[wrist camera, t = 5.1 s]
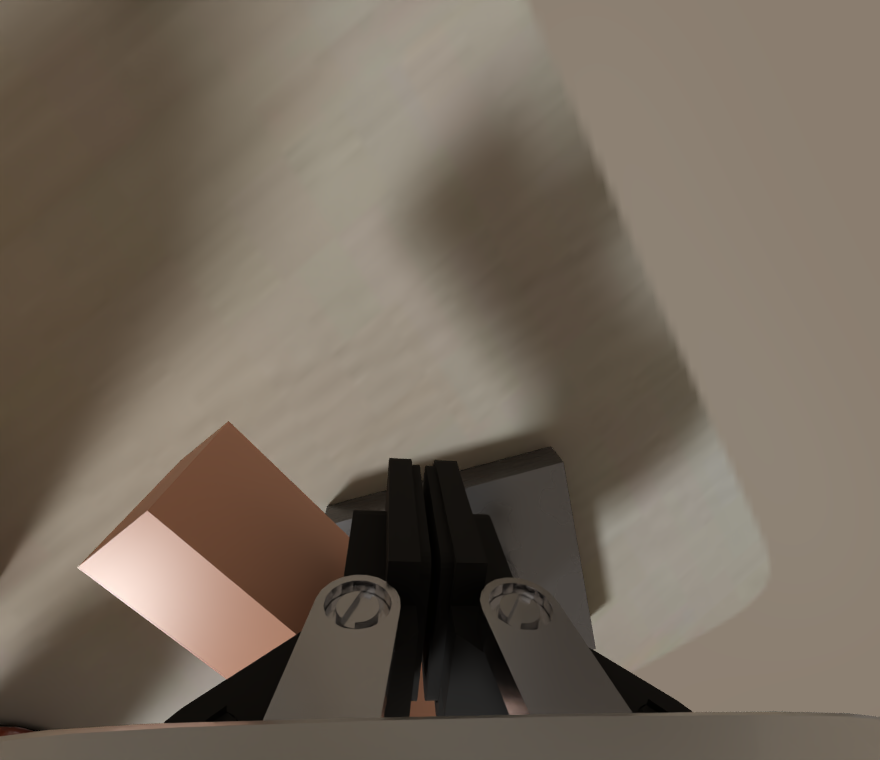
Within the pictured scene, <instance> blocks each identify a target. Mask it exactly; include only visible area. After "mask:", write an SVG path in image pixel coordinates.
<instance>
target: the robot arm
mask: <svg viewBox="0 0 880 760" xmlns="http://www.w3.org/2000/svg"><path fill="white" fill-rule="evenodd" d="M421 662H422V674H423V688H424V698H425V701H434V702H435V712H436V716H428V717H409V716H410V707H411V701H417V698H418V689H419V680H420V671H421ZM0 760H880V717H876V716H866V715H858V714H850V713H814V712H813V713H812V712H777V711H772V712H771V711H770V712H692V711H691V710H689V709H688V708H687V707H685V706H684V705H683V704H681V703H680V702H678V701H677V700H675V699H674V698H672V697H670V696H669V695H667V694H665V693H664V692H662V691H660V690H659V689H657V688H655V687H654V686H652V685H650V684H649V683H647V682H646V681H644V680H642V679H641V678H639V677H637V676H635V675H634V674H632V673H631V672H629V671H627V670H626V669H624V668H622V667H621V666H619V665H617V664H616V663H614V662H612V661H611V660H609V659H607V658H606V657H604V656H602V655H601V654H599V653H597V652H596V651H594V650H592V649H591V648H589V647H588V646H587V644H586V643H585V641H584V640H583V638H582V637H581V635H580V634H579V632H578V631H577V629H576V628H575V626H574V625H573V624H572V622H571V621H570V619H569V618H568V616H567V615H566V613H565V612H564V610H563V609H562V607H561V606H560V604H559V603H558V601H557V600H556V599H555V598H554V597H553V596H552V594H551V593H550V592H548V591H547V590H546V589H544V588H543V587H541V586H540V585H538V584H535V583H533V582H531V581H528V580H524V579H520V578H513V576H512V574H511V571H510V568H509V565H508V563H507V560H506V557H505V555H504V552H503V549H502V547H501V544H500V541H499V539H498V536H497V533H496V531H495V528H494V525H493V523H492V520H491V518H490V516H489V515H488V514H473V513H472V510H471V507H470V504H469V500H468V497H467V494H466V491H465V487H464V484H463V481H462V478H461V474H460V471H459V468H458V465H457V462H456V461H438V460H434V463H433V466H425V472H424V481H423V487H422V480H421V472H420V465H412V461H411V459H397V458H389V467H388V479H387V492H386V505H385V511H378V510H354V511H353V517H352V523H351V530H350V537H349V544H348V550H347V557H346V564H345V571H344V577H341V578H339V579H337V580H335V581H332V582H330V583H329V584H328V585H327V586H325V587H324V588H323V589H322V590H321V591H320V593H319V594H318V596H317V597H316V599H315V601H314V604H313V606H312V608H311V610H310V613H309V615H308V617H307V620H306V622H305V624H304V627H303V629H302V631H301V632H299V633H298V634H296V635H295V636H293V637H292V638H290V639H289V640H287V641H285V642H284V643H282V644H281V645H279V646H278V647H276V648H275V649H273V650H271V651H270V652H268V653H267V654H265V655H264V656H262V657H261V658H259V659H258V660H256V661H254V662H253V663H251V664H250V665H248V666H247V667H245V668H244V669H242V670H240V671H239V672H237V673H236V674H234V675H233V676H231V677H230V678H228V679H226V680H225V681H223V682H222V683H220V684H219V685H217V686H216V687H214V688H212V689H211V690H209V691H208V692H206V693H205V694H203V695H202V696H200V697H198V698H197V699H195V700H194V701H192V702H191V703H189V704H188V705H186V706H184V707H183V708H181V709H180V710H179V711H178V712H176V713H175V714H174V715H173V716H171V717H170V718H169V719H168V720H166V721H165V722H164V723H154V724H135V725H119V726H103V727H87V728H72V729H56V730H44V731H37V732H29V733H22V734H15V735H7V736H0Z"/></svg>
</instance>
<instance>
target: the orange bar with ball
mask: <svg viewBox="0 0 880 760" xmlns="http://www.w3.org/2000/svg"><path fill="white" fill-rule="evenodd" d="M348 544H349V536H348V535H347V534H346V533H345V532H344V531H343V530H342V529H340V528H339V527H338V526H337V525H336V524H335V523H334V522H333V521H332V520H331V519H330V518H329V517H328V516H327V515H326V514H325V513H324V512H323V511H322V510H321V509H320V508H319V507H318V506H317V505H315V504H314V503H313V502H312V501H311V500H310V499H309V498H308V497H307V496H306V495H305V494H304V493H303V492H302V491H301V490H300V489H299V488H298V487H297V486H296V485H295V484H294V483H293V482H292V481H290V480H289V479H288V478H287V477H286V476H285V475H284V474H283V473H282V472H281V471H280V470H279V469H278V468H277V467H276V466H275V465H274V464H273V463H272V462H271V461H270V460H269V459H268V458H267V457H265V456H264V455H263V454H262V453H261V452H260V451H259V450H258V449H257V448H256V447H255V446H254V445H253V444H252V443H251V442H250V441H249V440H248V439H247V438H246V437H245V436H244V435H243V434H242V433H240V432H239V431H238V430H237V429H236V428H235V427H234V426H233V425H232V424H231V423H230V422H229V421H228V422H227V423H226V424H225V425H223V426H222V427H221V428H220V429H218V430H217V431H216V432H215V433H214V434H212V435H211V436H210V437H209V438H207V439H206V440H205V441H204V442H203V443H201V444H200V445H199V446H198V447H196V448H195V449H194V450H193V451H192V452H190V453H189V454H188V455H187V456H186V457H184V458H183V459H182V460H181V461H180V462H179V463H178V464H177V465H176V466H175V467H174V468H173V469H172V470H171V471H170V472H169V473H168V474H167V475H166V476H165V477H164V478H163V479H162V480H161V481H160V482H159V483H158V485H157V486H156V487H155V488H154V489H153V490H152V491H151V492H150V493H149V494H148V495H147V496H146V497H145V498H144V499H143V500H142V501H141V502H140V503H139V504H138V505H137V506H136V507H135V508H134V509H133V510H132V511H131V512H130V514H129V515H128V516H127V517H126V518H125V519H124V520H123V521H122V522H121V523H120V524H119V525H118V526H117V527H116V528H115V529H114V530H113V531H112V532H111V533H110V534H109V535H108V536H107V537H106V538H105V539H104V540H103V542H102V543H101V544H100V545H99V546H98V547H97V548H96V549H95V550H94V551H93V552H92V553H91V554H90V555H89V556H88V557H87V558H86V559H85V560H84V561H83V562H82V563H81V564H80V565H79V566H78V567H77V568H78V569H80V570H81V571H83V572H84V573H85V574H87V575H88V576H89V577H91V578H92V579H93V580H95V581H96V582H97V583H99V584H100V585H101V586H103V587H104V588H105V589H107V590H108V591H109V592H111V593H112V594H113V595H115V596H116V597H117V598H119V599H120V600H121V601H123V602H124V603H125V604H127V605H128V606H129V607H131V608H132V609H133V610H135V611H136V612H137V613H139V614H140V615H141V616H143V617H144V618H145V619H147V620H148V621H149V622H151V623H152V624H153V625H155V626H156V627H157V628H159V629H160V630H161V631H163V632H164V633H165V634H167V635H168V636H169V637H171V638H172V639H173V640H175V641H176V642H178V643H179V644H180V645H182V646H183V647H184V648H186V649H187V650H188V651H190V652H191V653H192V654H194V655H195V656H196V657H198V658H199V659H200V660H202V661H203V662H204V663H206V664H207V665H208V666H210V667H211V668H212V669H214V670H215V671H216V672H218V673H219V674H220V675H222V676H223V677H224V678H226V679H228V678H230V677H231V676H233V675H234V674H236V673H237V672H239V671H240V670H242V669H244V668H245V667H247V666H248V665H250V664H251V663H253V662H254V661H256V660H258V659H259V658H261V657H262V656H264V655H265V654H267V653H268V652H270V651H271V650H273V649H275V648H276V647H278V646H279V645H281V644H282V643H284V642H285V641H287V640H289V639H290V638H292V637H293V636H295V635H296V634H298V633H299V632H301V631H302V629H303V627H304V624H305V622H306V620H307V617H308V615H309V613H310V610H311V608H312V606H313V604H314V601H315V599H316V597H317V596H318V594H319V593H320V591H321V590H322V589H323V588H324V587H325V586H327V585H328V584H329V583H330V582H332V581H335V580H337V579H339V578H341V577H344V571H345V564H346V557H347V550H348ZM428 716H436V712H435V702H434V701H425V698H424V688H423V674H422V662H421V671H420V680H419V689H418V698H417V701H411V707H410V716H409V717H428Z"/></svg>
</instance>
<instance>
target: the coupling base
mask: <svg viewBox="0 0 880 760" xmlns="http://www.w3.org/2000/svg"><path fill="white" fill-rule="evenodd" d="M460 474H461V478H462V481H463V484H464V487H465V491H466V494H467V497H468V500H469V504H470V507H471V510H472V513H473V514H488V515H489V516H490V518H491V520H492V523H493V525H494V528H495V531H496V533H497V536H498V539H499V541H500V544H501V547H502V549H503V552H504V555H505V557H506V560H507V563H508V565H509V568H510V571H511V574H512V576H513V578H520V579H524V580H528V581H531V582H533V583H535V584H538V585H540V586H541V587H543V588H544V589H546V590H547V591H548V592H550V593H551V594H552V596H553V597H554V598H555V599H556V600H557V601H558V603H559V604H560V606H561V607H562V609H563V610H564V612H565V613H566V615H567V616H568V618H569V619H570V621H571V622H572V624H573V625H574V626H575V628H576V629H577V631H578V632H579V634H580V635H581V637H582V638H583V640H584V641H585V643H586V644H587V646H588V647H589V648H591V649H592V650H593V649H596V648H595V642H594V636H593V630H592V625H591V619H590V613H589V607H588V602H587V596H586V590H585V584H584V579H583V573H582V567H581V561H580V555H579V550H578V544H577V538H576V532H575V527H574V521H573V515H572V509H571V504H570V498H569V492H568V486H567V481H566V475H565V469H564V463H563V461H562V460H561V459H560V457H559V456H558V455H557V454H556V452H555V451H554V450H553V449H552V447H548V448H544V449H540V450H537V451H533V452H529V453H525V454H522V455H518V456H514V457H510V458H507V459H503V460H499V461H495V462H492V463H488V464H484V465H480V466H477V467H473V468H469V469H465V470H462V471H460ZM422 487H423V481H422ZM386 492H387V490H386V491H383V492H379V493H375V494H371V495H368V496H364V497H360V498H356V499H353V500H349V501H345V502H341V503H338V504H334V505H330V506H327V509H326V513H325V514H326V515H327V516H328V517H329V518H330V519H331V520H332V521H333V522H334V523H335V524H336V525H337V526H338V527H339V528H340V529H342V530H343V531H344V532H345V533H346V534H347V535H348V536H349V537H350V530H351V523H352V517H353V511H354V510H378V511H385V505H386Z"/></svg>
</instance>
